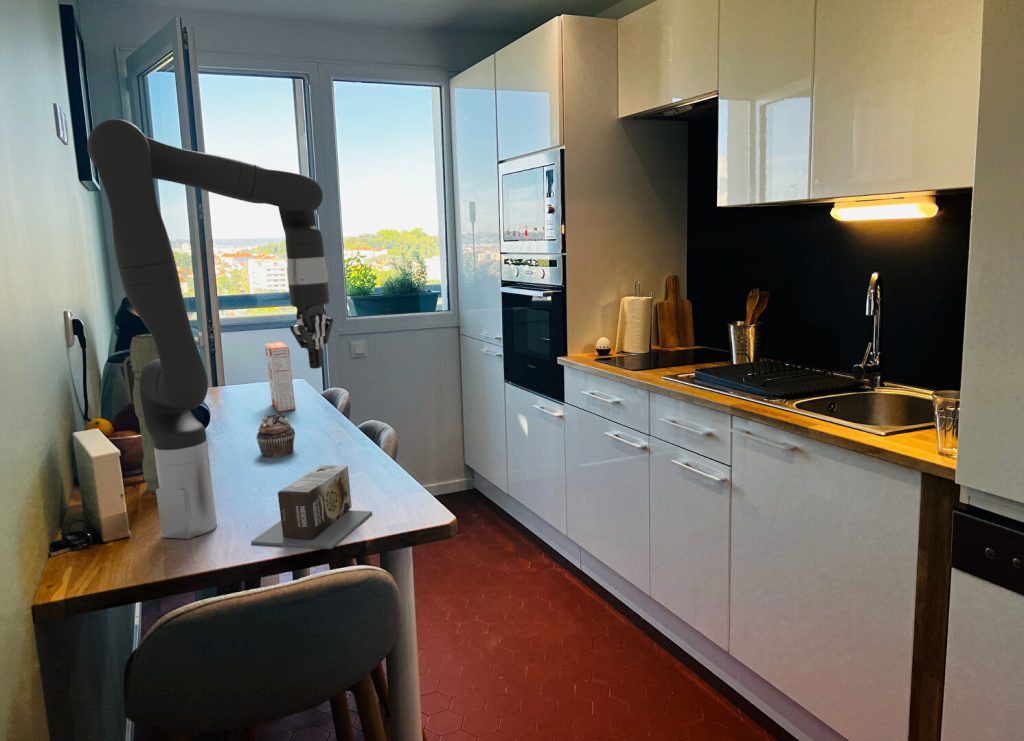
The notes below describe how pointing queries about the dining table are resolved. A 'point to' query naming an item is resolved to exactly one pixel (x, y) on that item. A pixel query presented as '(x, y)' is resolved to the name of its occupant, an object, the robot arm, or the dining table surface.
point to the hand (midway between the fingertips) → (316, 367)
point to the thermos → (141, 355)
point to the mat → (323, 540)
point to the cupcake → (275, 436)
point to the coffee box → (314, 502)
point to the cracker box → (280, 376)
